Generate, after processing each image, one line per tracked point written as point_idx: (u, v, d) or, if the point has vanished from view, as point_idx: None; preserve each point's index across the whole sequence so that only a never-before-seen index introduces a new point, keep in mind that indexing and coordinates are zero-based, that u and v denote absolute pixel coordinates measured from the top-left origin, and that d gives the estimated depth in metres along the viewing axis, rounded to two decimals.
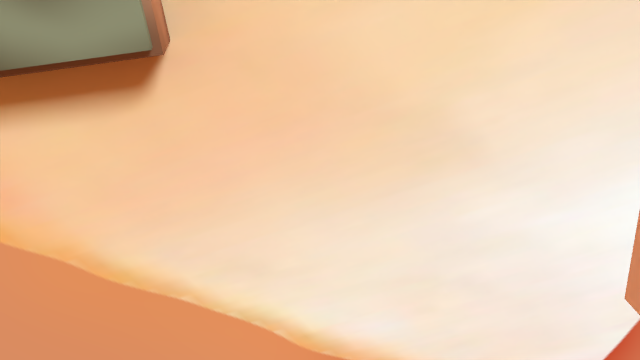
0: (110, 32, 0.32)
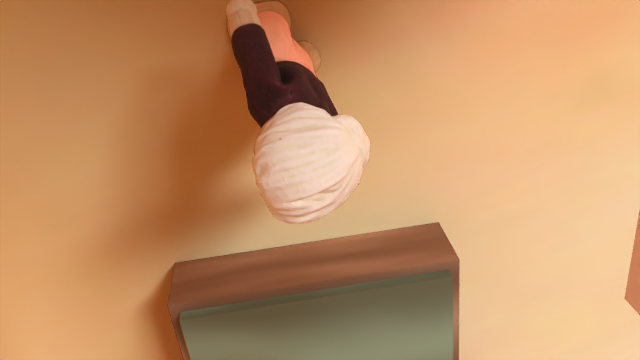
0: None
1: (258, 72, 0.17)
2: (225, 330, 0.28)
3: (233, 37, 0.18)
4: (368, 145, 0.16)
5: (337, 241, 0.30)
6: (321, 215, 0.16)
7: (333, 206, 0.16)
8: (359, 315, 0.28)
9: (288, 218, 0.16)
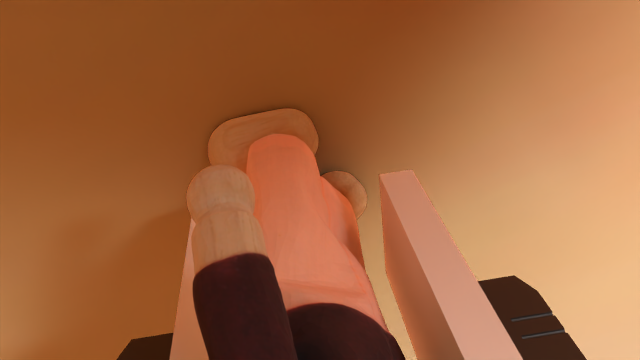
0: None
1: None
2: None
3: (195, 290, 0.08)
4: None
5: None
6: None
7: None
8: None
9: None
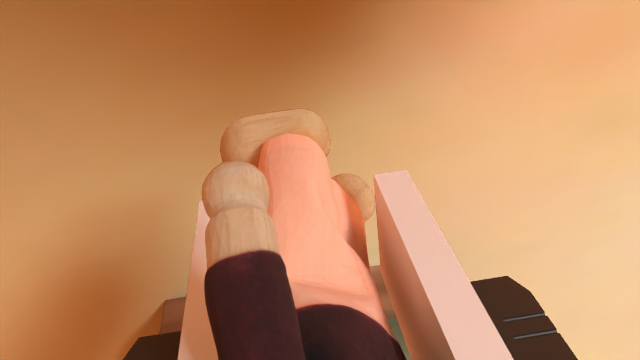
0: None
1: None
2: None
3: (208, 284, 0.08)
4: None
5: None
6: None
7: None
8: None
9: None
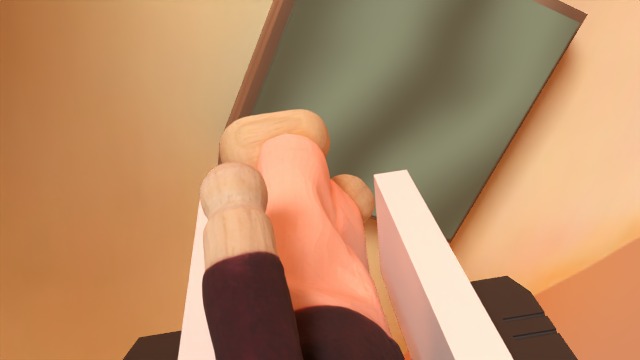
0: (537, 50, 0.28)
1: None
2: None
3: (205, 285, 0.08)
4: None
5: (274, 0, 0.29)
6: None
7: None
8: (321, 23, 0.26)
9: None
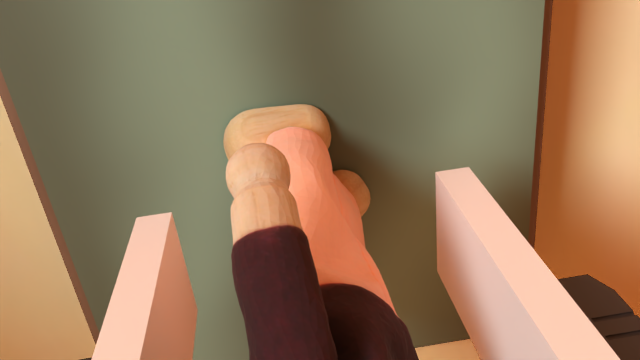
0: None
1: None
2: None
3: (237, 255, 0.08)
4: None
5: None
6: None
7: None
8: (90, 151, 0.15)
9: None
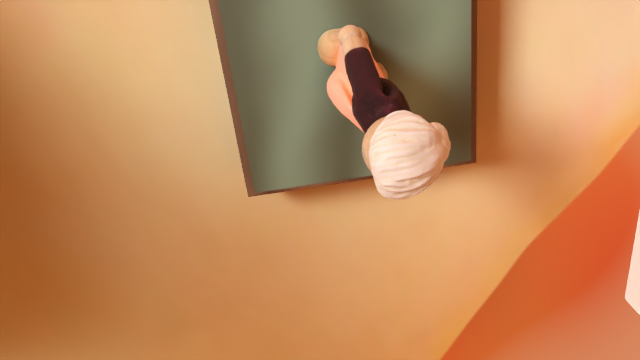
0: None
1: (368, 84, 0.23)
2: (267, 160, 0.34)
3: (348, 56, 0.24)
4: (450, 146, 0.22)
5: None
6: (412, 194, 0.22)
7: (422, 188, 0.21)
8: (254, 50, 0.31)
9: (390, 194, 0.21)
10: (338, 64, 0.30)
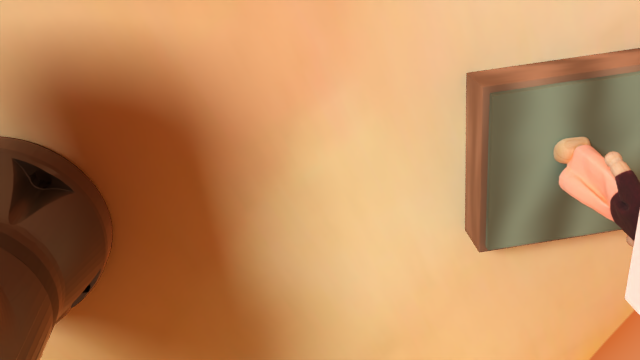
0: None
1: None
2: (501, 227, 0.46)
3: (621, 176, 0.36)
4: None
5: (467, 141, 0.46)
6: None
7: None
8: (509, 152, 0.43)
9: None
10: (573, 164, 0.42)
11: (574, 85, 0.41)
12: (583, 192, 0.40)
